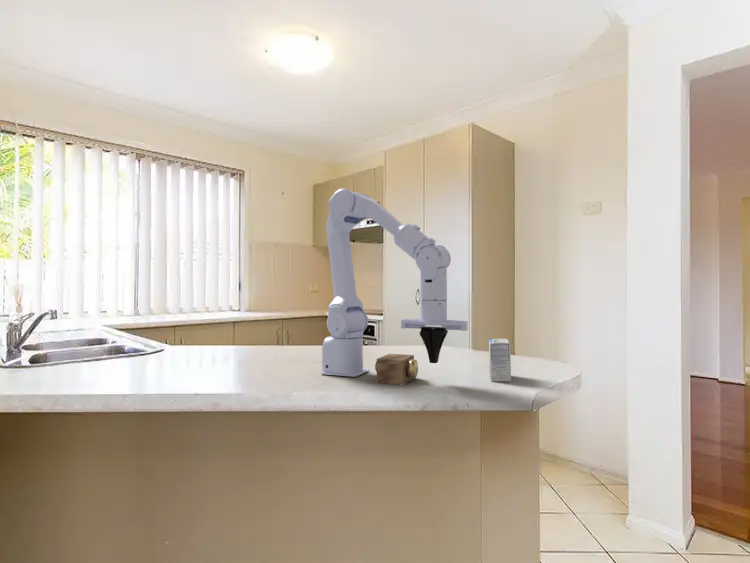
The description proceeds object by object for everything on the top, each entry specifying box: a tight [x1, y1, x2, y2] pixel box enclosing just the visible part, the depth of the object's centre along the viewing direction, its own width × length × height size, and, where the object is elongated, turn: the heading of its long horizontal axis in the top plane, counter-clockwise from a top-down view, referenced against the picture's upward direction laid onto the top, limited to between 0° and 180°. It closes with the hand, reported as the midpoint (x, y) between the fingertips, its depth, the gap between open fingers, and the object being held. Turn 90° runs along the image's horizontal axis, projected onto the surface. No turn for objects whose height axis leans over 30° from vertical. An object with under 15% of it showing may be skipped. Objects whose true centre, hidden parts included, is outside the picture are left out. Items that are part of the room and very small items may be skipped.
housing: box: [376, 353, 415, 386], centre depth 107 cm, size 6×8×5 cm
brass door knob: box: [374, 359, 419, 379], centre depth 107 cm, size 9×4×4 cm, turn 67°
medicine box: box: [488, 338, 512, 383], centre depth 108 cm, size 8×4×9 cm, turn 168°
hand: (433, 362), depth 103 cm, fingers closed
